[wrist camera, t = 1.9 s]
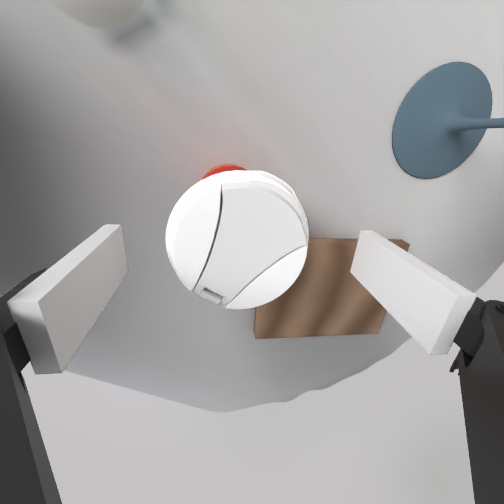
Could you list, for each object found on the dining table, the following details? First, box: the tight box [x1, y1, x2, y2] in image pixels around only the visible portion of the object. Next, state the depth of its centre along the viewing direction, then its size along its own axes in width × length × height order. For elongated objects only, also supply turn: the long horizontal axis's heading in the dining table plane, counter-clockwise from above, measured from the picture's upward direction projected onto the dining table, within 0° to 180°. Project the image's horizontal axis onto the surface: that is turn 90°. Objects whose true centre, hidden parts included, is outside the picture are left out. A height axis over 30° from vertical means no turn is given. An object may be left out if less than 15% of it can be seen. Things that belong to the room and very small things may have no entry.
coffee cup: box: [165, 164, 309, 309], centre depth 20 cm, size 8×8×15 cm
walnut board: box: [254, 238, 410, 339], centre depth 33 cm, size 18×14×2 cm
